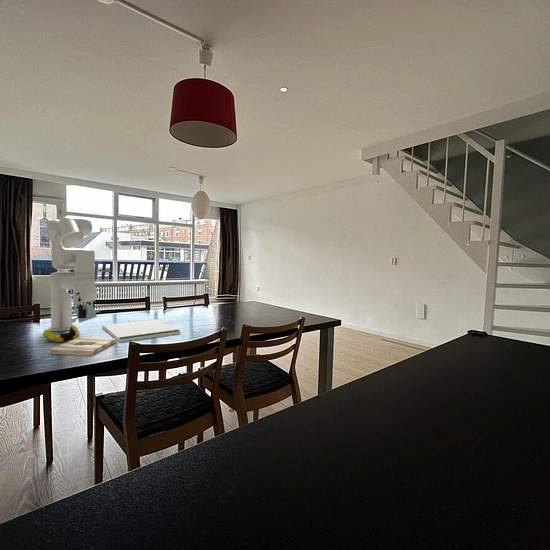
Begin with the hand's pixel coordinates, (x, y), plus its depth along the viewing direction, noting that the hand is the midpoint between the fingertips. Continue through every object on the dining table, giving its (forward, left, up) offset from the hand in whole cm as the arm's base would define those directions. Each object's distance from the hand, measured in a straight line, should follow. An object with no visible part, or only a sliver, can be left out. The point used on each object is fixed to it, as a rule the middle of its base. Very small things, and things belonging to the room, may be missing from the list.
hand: (85, 316), depth 143 cm
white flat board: (-34, +10, -15) cm, 39 cm away
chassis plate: (0, 0, -14) cm, 14 cm away
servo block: (0, +1, -1) cm, 2 cm away
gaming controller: (-12, -18, -15) cm, 26 cm away
